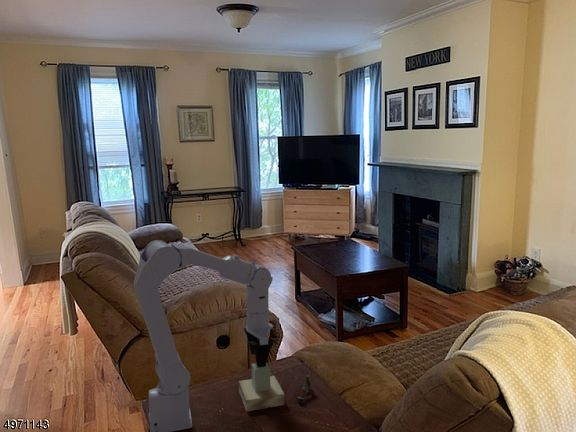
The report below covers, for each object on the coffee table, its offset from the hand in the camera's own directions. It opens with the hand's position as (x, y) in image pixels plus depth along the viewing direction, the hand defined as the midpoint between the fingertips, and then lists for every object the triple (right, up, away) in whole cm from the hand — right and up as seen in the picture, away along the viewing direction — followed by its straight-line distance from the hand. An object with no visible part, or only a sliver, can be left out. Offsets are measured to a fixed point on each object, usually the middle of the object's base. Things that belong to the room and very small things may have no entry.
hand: (258, 359), depth 113 cm
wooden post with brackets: (+12, -11, +2) cm, 16 cm away
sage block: (+1, -7, 0) cm, 7 cm away
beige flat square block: (+1, -10, +1) cm, 10 cm away
